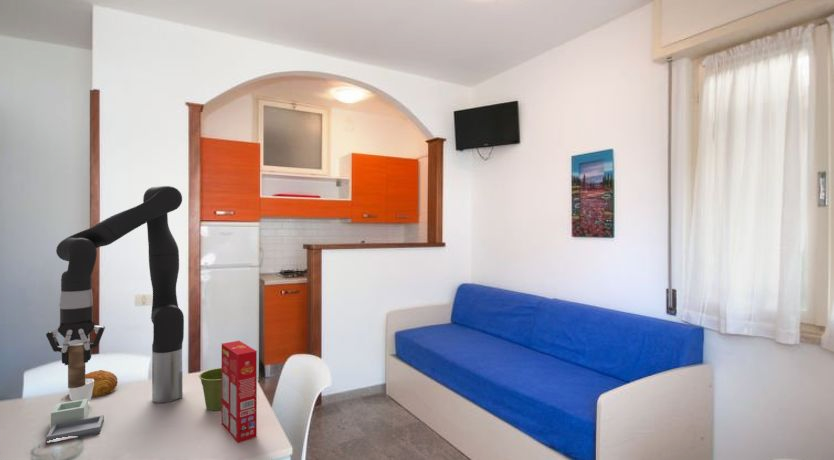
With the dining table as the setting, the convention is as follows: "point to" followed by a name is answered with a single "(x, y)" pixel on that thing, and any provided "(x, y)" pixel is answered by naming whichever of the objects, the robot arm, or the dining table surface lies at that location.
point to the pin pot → (69, 411)
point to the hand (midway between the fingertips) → (76, 362)
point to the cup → (82, 391)
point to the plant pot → (212, 388)
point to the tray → (76, 428)
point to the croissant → (102, 382)
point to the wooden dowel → (76, 365)
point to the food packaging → (239, 390)
